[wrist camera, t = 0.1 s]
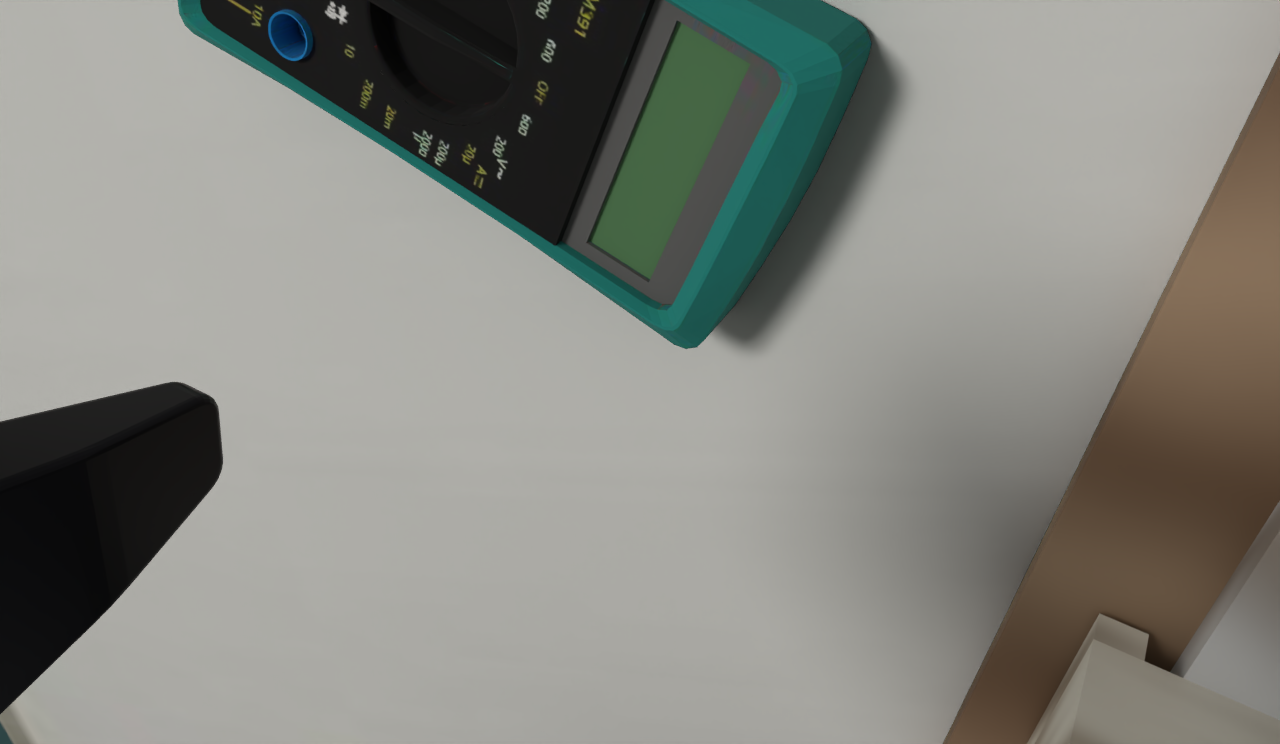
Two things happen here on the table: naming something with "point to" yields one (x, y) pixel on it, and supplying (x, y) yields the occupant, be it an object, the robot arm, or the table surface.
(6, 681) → the robot arm
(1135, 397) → the din panel
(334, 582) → the table surface
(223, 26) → the digital multimeter
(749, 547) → the table surface
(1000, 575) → the table surface
